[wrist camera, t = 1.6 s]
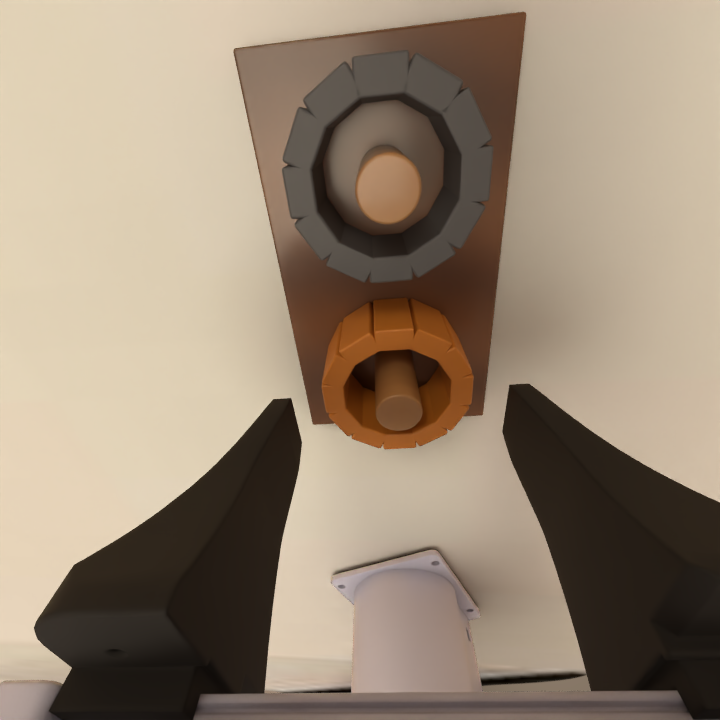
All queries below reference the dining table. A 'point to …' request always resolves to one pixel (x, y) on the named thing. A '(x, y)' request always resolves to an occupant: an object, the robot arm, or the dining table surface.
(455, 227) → the ring
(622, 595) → the robot arm
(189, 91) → the dining table surface
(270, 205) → the rack
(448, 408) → the amber tape
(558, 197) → the dining table surface
